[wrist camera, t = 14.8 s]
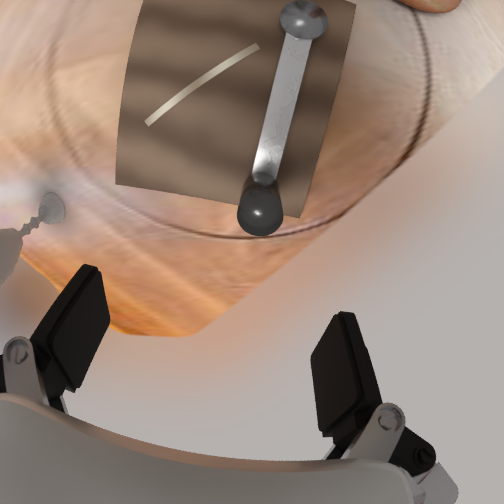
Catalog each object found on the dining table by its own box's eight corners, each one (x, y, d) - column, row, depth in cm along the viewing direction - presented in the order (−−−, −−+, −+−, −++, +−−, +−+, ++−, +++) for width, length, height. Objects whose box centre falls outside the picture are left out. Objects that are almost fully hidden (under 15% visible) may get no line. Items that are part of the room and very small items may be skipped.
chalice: (76, 211, 33) (-4, 288, 17) (59, 236, 35) (-9, 310, 20) (48, 177, 30) (-40, 238, 14) (33, 205, 32) (-42, 268, 17)
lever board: (157, -18, 17) (150, -24, 15) (350, 9, 18) (356, 4, 17) (122, 179, 30) (114, 184, 28) (297, 211, 32) (299, 219, 30)
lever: (283, 2, 17) (291, -31, 10) (327, 13, 18) (350, -14, 11) (236, 196, 29) (228, 230, 22) (277, 204, 29) (281, 241, 22)
